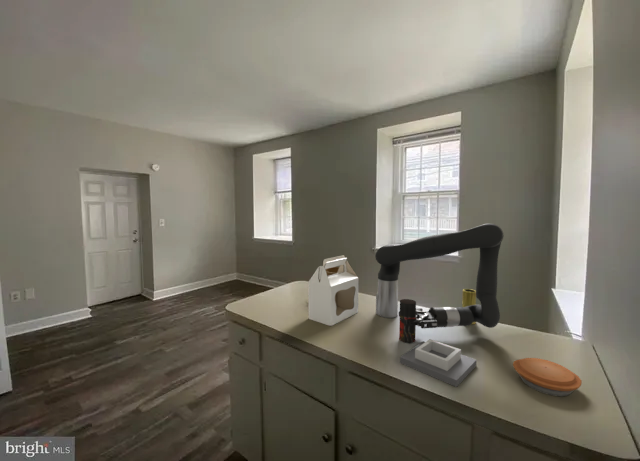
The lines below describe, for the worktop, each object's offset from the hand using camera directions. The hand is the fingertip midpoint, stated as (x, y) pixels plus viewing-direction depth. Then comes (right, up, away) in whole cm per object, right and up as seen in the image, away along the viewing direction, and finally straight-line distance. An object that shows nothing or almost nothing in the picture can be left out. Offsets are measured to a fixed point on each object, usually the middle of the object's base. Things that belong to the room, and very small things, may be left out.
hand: (402, 318), depth 111 cm
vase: (+34, -7, +18) cm, 39 cm away
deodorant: (+2, -9, +1) cm, 9 cm away
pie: (+33, -11, -27) cm, 44 cm away
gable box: (-25, -7, +26) cm, 37 cm away
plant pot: (-22, -5, +54) cm, 59 cm away
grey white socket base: (+7, -10, -17) cm, 21 cm away
